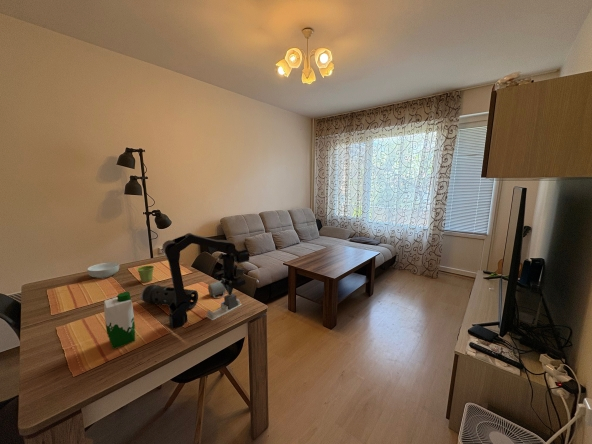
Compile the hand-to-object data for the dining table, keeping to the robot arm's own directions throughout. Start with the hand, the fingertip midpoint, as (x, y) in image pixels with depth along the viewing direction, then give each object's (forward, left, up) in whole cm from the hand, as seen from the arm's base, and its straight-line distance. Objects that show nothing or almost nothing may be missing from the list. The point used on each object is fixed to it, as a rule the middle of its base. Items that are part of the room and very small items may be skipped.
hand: (230, 294), depth 120 cm
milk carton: (-43, +15, -8) cm, 46 cm away
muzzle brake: (-18, +27, -8) cm, 33 cm away
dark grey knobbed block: (0, 0, -7) cm, 7 cm away
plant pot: (-12, +70, -8) cm, 72 cm away
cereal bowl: (-26, +100, -8) cm, 104 cm away
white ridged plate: (-4, 0, -8) cm, 9 cm away
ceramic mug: (+4, +17, -8) cm, 19 cm away
